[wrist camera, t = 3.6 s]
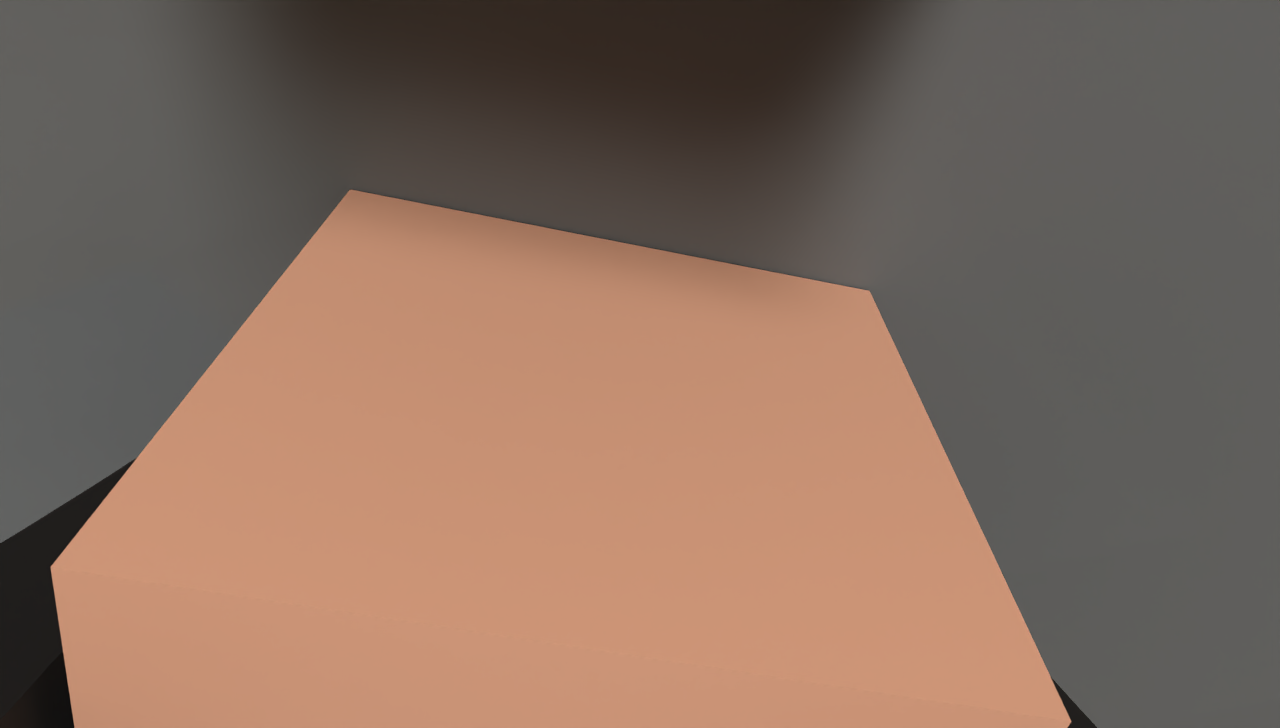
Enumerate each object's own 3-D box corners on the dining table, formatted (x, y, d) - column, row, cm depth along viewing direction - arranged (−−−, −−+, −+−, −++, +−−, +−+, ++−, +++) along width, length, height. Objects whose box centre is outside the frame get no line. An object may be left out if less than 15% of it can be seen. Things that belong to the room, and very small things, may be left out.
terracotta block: (869, 290, 9) (1071, 722, 5) (737, 646, 12) (791, 1141, 7) (349, 188, 9) (50, 567, 4) (328, 584, 11) (125, 1074, 7)
